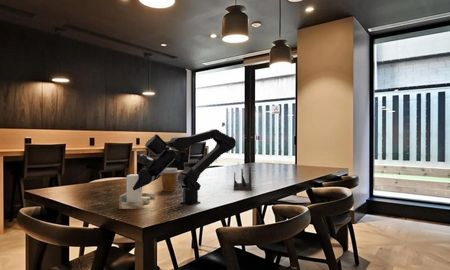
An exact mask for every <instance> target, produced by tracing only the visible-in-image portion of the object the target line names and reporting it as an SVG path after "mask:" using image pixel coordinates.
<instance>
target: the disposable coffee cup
mask: <svg viewBox="0 0 450 270" xmlns="http://www.w3.org/2000/svg"><path fill="white" fill-rule="evenodd" d="M178 172H179V170H178V168H177V167H167V168H166V169H165V170H164V171H163V172H162V175H161V176H160V177H161V182H162V191H163V192H174V191H175V190H176V181H177V177H178V176H177V175H178Z"/></svg>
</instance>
